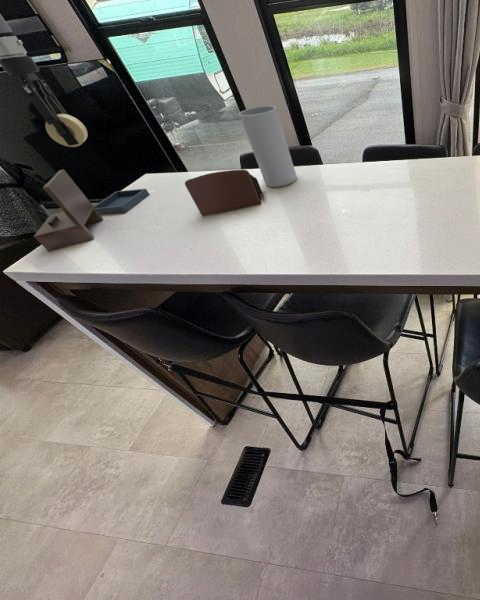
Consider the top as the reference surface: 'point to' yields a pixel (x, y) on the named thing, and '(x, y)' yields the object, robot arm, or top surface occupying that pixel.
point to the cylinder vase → (269, 145)
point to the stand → (67, 215)
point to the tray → (121, 201)
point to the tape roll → (73, 126)
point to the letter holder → (224, 191)
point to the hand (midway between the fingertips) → (75, 142)
